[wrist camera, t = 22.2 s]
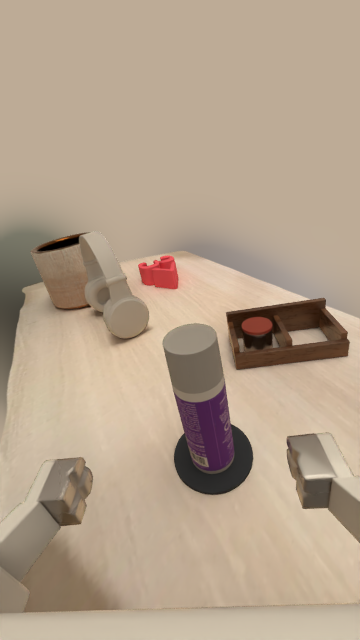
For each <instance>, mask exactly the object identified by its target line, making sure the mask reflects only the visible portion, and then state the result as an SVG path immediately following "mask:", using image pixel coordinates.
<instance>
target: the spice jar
mask: <svg viewBox="0 0 360 640" xmlns="http://www.w3.org/2000/svg"><path fill="white" fill-rule="evenodd" d="M242 332H243V343H244V351H245V352H248V351H256V350H263V349H271V348H273V344H272V322H271V321H270V320H269V319H267V318H263V317H253V318H249V319H246V320H245V321H244V322H243V323H242Z"/></svg>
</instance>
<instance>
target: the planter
mask: <svg viewBox="0 0 360 640" xmlns="http://www.w3.org/2000/svg"><path fill="white" fill-rule="evenodd" d="M89 233H91V232H89ZM84 234H87V233H81V234H75V235H71V236H67V237H63V238H59V239H56V240H52V241H49V242H47V243H44V244H42V245H39V246H37V247H35V248H34V249H33V250H31V254H32V257H33V259H34V261H35V263H36V265H37V268H38V270H39V272H40V274H41V277H42V279H43V281H44V284H45V286H46V288H47V291H48V293H49V295H50V297H51V300H52V302H53V303H54V305H55V306H56V307H59V308H62V309H76V308H82V307H85V306H89V304H88V302H87V301H86V298H85V294H84V292H85V287H86V285H87V283H88V276H87V271H86V267H85V266H84V265H83V262H84V261H83V257H82V253H81V249H80V244H79V237H80V235H84Z"/></svg>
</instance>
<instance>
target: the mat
mask: <svg viewBox="0 0 360 640" xmlns="http://www.w3.org/2000/svg"><path fill="white" fill-rule="evenodd" d="M231 430H232V437H233V445H234V459H233V462H232V464H231V465H230V466H229V467H228V468H227V469H226V470H225V471H223V472H220V473H217V474H208V473H204V472H202V471H200V470H199V469H198V468H197V467H196V466H195V465H194V463H193V461H192V458H191V455H190V451H189V447H188V444H187V440H186V436H185V433H184V434H183V435H182V436H181V438H180V439H179V441H178V443H177V446H176V448H175V453H174V462H175V467H176V470H177V473H178V474H179V476H180V478H181V479H182V481H183V482H184V483H185V484H186V485H187V486H189V487H190V488H192V489H193V490H195V491H198V492H200V493H204V494H212V495H213V494H222V493H226V492H229V491H231V490H233V489H235V488H236V487H237V486H239V485H240V484H241V483H242V482H243V481H244V480H245V479H246V477H247V476H248V474H249V472H250V470H251V467H252V462H253V452H252V447H251V444H250V442H249V440H248V438H247V437H246V435H245V434H244V433H243V432H242V431H241V430H240V429H239V428H237V427H236V426H234V425H232V424H231Z"/></svg>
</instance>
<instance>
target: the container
mask: <svg viewBox="0 0 360 640" xmlns="http://www.w3.org/2000/svg"><path fill="white" fill-rule="evenodd" d="M163 347H164V352H165V356H166V360H167V365H168V369H169V374H170V378H171V382H172V387H173V391H174V395H175V399H176V402H177V406H178V410H179V414H180V417H181V421H182V425H183V429H184V432H185V436H186V440H187V444H188V447H189V451H190V455H191V458H192V461H193V463H194V465H195V466H196V467H197V468H198V469H199V470H200V471H202V472H204V473H208V474H217V473H220V472H223V471H225V470H226V469H227V468H228V467H229V466H230V465H231V464H232V462H233V459H234V445H233V437H232V430H231V423H230V416H229V408H228V401H227V394H226V387H225V379H224V374H223V369H222V363H221V357H220V351H219V346H218V340H217V334H216V331H215V330H214V329H213V328H212V327H210V326H208V325H204V324H187V325H183V326H180V327H177V328H175V329H173V330H172V331H170V332H169V333H168V334H167V335H166V336H165V337H164V339H163Z"/></svg>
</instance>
